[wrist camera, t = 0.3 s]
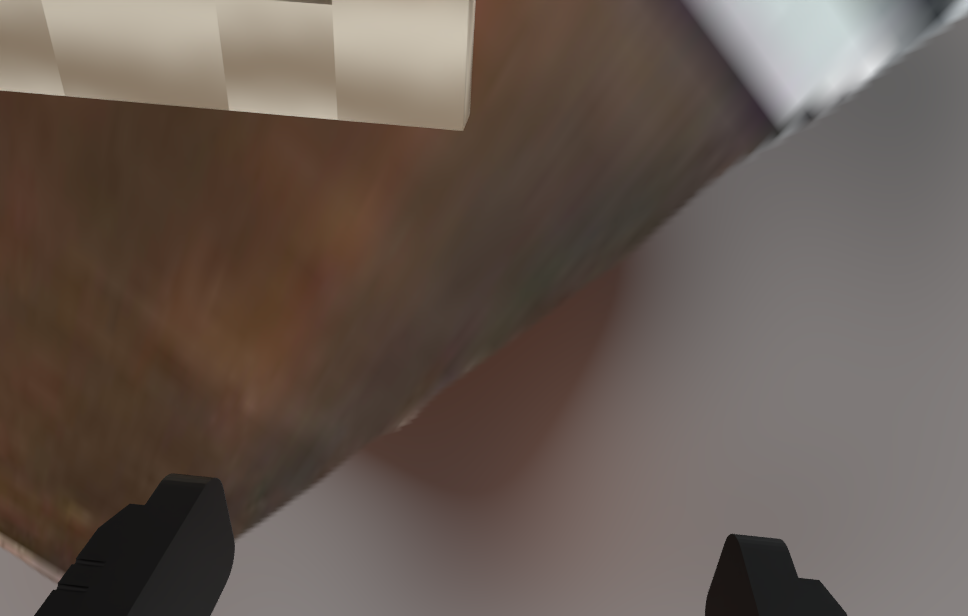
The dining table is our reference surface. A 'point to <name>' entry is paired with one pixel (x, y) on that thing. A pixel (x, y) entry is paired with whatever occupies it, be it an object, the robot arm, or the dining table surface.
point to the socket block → (250, 55)
